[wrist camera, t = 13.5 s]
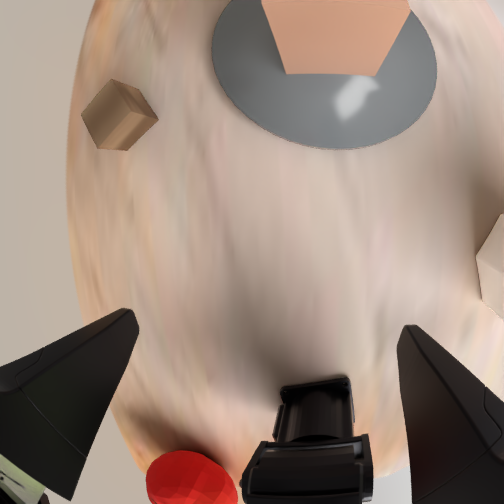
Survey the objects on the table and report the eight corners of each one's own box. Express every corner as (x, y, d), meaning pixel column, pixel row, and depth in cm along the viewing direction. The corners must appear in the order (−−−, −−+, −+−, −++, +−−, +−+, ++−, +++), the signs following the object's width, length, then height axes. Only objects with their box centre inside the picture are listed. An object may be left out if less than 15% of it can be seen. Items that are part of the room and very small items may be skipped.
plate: (376, -32, 12) (377, -39, 11) (460, 130, 15) (467, 128, 14) (196, 7, 17) (191, 1, 16) (251, 177, 20) (248, 177, 19)
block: (159, 119, 20) (131, 111, 16) (127, 150, 22) (97, 148, 18) (139, 89, 20) (111, 79, 16) (110, 120, 21) (80, 114, 17)
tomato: (148, 431, 31) (113, 482, 21) (227, 439, 28) (198, 508, 18) (187, 479, 34) (163, 524, 24) (256, 487, 30) (240, 541, 20)
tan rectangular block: (374, 76, 15) (410, 11, 6) (286, 74, 16) (261, 3, 8) (362, 10, 13) (377, -65, 5) (280, 9, 15) (256, -68, 6)
